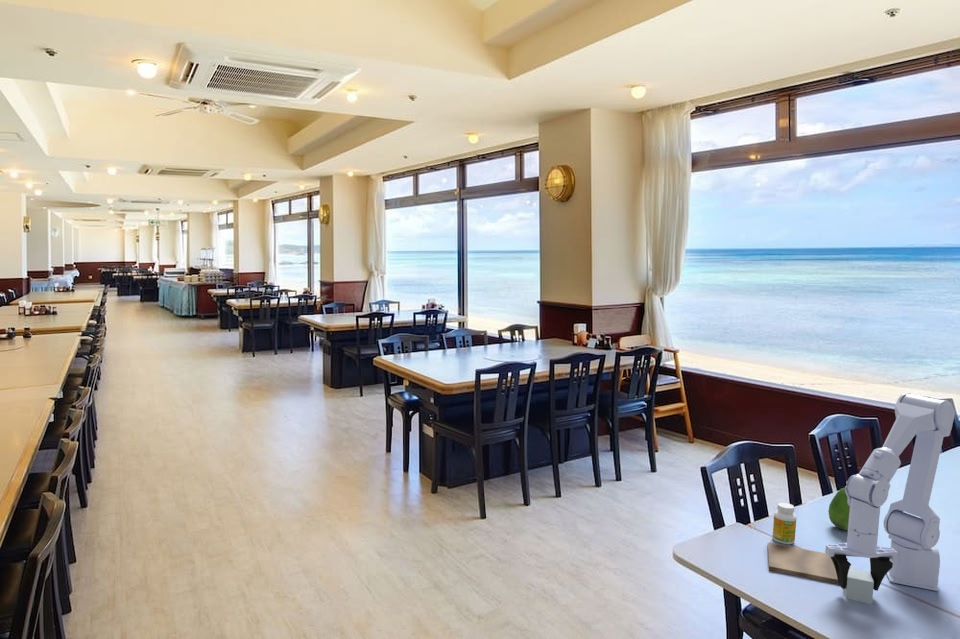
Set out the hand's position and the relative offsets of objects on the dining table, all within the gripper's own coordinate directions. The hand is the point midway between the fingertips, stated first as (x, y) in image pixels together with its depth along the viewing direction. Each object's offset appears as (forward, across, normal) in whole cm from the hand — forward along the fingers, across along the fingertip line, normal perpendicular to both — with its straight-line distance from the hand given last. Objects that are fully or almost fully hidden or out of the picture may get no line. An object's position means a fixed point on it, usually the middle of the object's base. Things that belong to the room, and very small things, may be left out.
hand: (857, 587), depth 141 cm
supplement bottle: (+2, +5, -27) cm, 28 cm away
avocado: (+2, -15, -37) cm, 40 cm away
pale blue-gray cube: (+2, 0, 0) cm, 2 cm away
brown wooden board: (+2, +6, -14) cm, 15 cm away
